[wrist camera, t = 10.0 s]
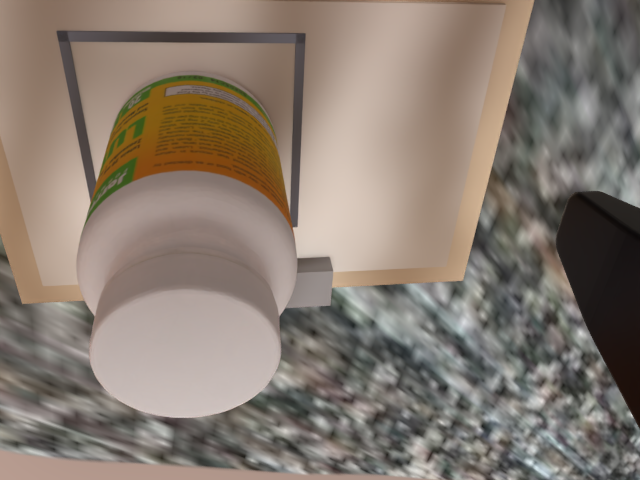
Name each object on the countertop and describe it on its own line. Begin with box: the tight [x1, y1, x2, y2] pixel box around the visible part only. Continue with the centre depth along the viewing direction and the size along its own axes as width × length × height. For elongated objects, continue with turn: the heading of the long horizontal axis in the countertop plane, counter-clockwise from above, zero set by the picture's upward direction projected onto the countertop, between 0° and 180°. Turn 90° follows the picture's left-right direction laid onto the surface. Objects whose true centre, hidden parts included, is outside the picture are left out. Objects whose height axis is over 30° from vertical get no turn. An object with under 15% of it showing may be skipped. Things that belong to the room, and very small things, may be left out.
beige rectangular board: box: [0, 0, 534, 308], centre depth 21 cm, size 18×12×2 cm, turn 87°
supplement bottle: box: [76, 71, 297, 418], centre depth 17 cm, size 5×5×10 cm
